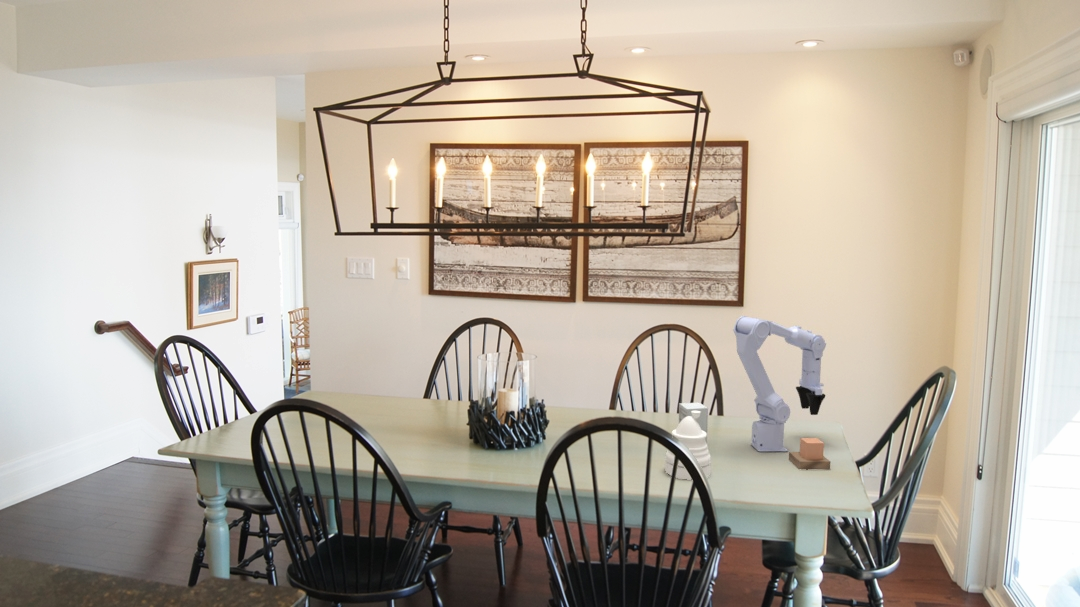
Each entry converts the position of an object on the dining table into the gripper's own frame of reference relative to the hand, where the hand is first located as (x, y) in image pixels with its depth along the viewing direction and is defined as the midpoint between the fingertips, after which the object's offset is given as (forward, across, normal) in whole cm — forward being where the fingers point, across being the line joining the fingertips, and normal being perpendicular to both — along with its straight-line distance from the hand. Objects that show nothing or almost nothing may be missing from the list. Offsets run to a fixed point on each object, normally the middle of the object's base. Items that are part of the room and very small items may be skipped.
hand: (809, 411), depth 248 cm
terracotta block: (+8, -22, +8) cm, 25 cm away
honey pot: (+10, -28, +46) cm, 55 cm away
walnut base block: (+11, -22, +8) cm, 26 cm away
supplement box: (+10, 0, +38) cm, 40 cm away
